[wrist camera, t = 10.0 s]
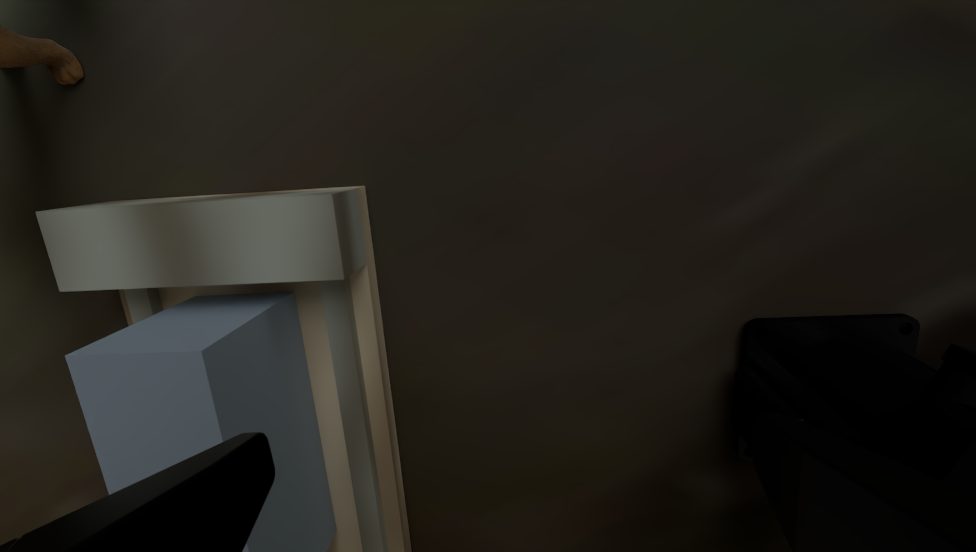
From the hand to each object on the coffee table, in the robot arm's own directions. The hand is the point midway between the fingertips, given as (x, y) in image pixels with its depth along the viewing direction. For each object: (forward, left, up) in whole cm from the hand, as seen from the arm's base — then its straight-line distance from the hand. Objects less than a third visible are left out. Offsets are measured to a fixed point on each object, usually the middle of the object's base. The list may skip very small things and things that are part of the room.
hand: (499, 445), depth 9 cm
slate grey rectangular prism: (+11, +6, -11) cm, 17 cm away
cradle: (+11, +7, -12) cm, 18 cm away
